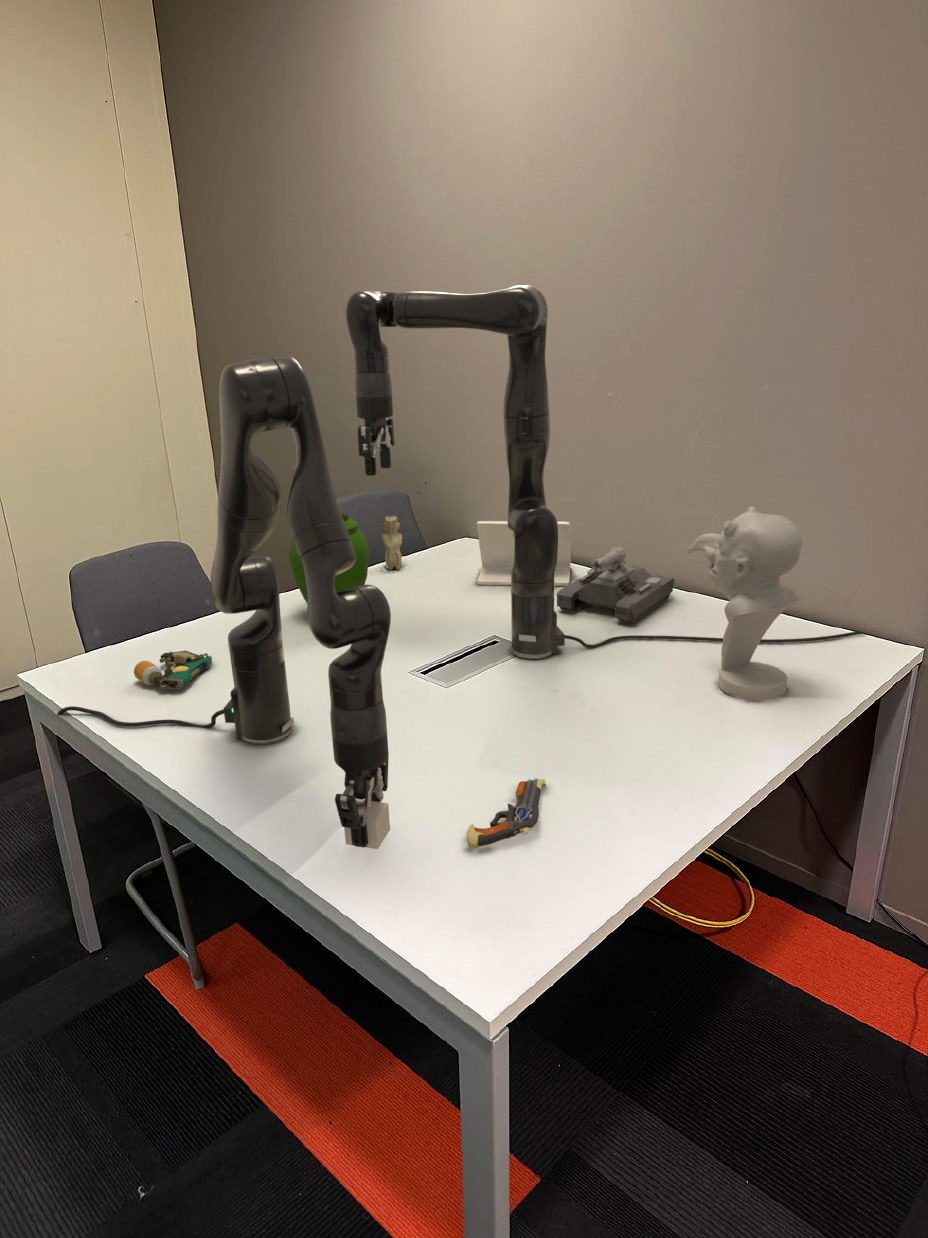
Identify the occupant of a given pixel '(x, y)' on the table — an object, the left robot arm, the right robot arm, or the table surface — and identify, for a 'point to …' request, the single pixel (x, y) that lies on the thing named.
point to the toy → (616, 588)
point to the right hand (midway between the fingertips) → (378, 471)
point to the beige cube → (373, 824)
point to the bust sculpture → (751, 595)
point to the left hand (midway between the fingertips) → (367, 833)
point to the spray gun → (172, 669)
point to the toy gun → (511, 816)
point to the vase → (350, 576)
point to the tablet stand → (500, 553)
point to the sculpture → (392, 542)
